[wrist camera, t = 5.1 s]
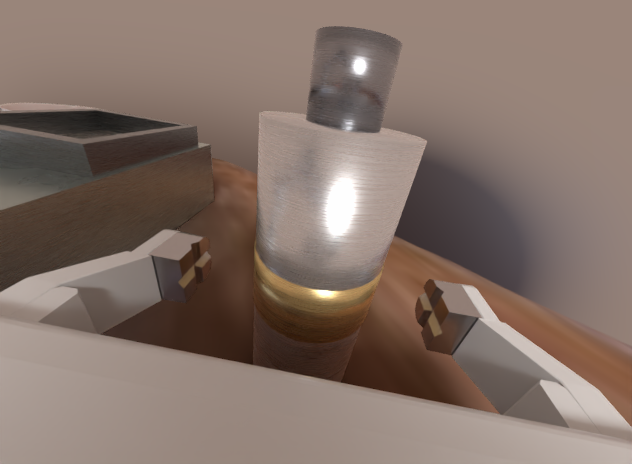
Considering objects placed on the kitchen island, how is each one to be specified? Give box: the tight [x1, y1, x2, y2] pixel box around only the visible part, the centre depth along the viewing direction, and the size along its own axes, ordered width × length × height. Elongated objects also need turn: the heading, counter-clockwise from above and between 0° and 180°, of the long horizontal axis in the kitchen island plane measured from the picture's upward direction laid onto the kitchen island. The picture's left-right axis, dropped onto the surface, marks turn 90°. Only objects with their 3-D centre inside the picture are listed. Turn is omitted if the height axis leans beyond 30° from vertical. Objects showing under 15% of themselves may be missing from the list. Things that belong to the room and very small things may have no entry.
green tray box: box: [0, 109, 214, 292], centre depth 17 cm, size 11×18×8 cm, turn 174°
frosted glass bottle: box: [253, 26, 427, 382], centre depth 9 cm, size 5×5×13 cm
